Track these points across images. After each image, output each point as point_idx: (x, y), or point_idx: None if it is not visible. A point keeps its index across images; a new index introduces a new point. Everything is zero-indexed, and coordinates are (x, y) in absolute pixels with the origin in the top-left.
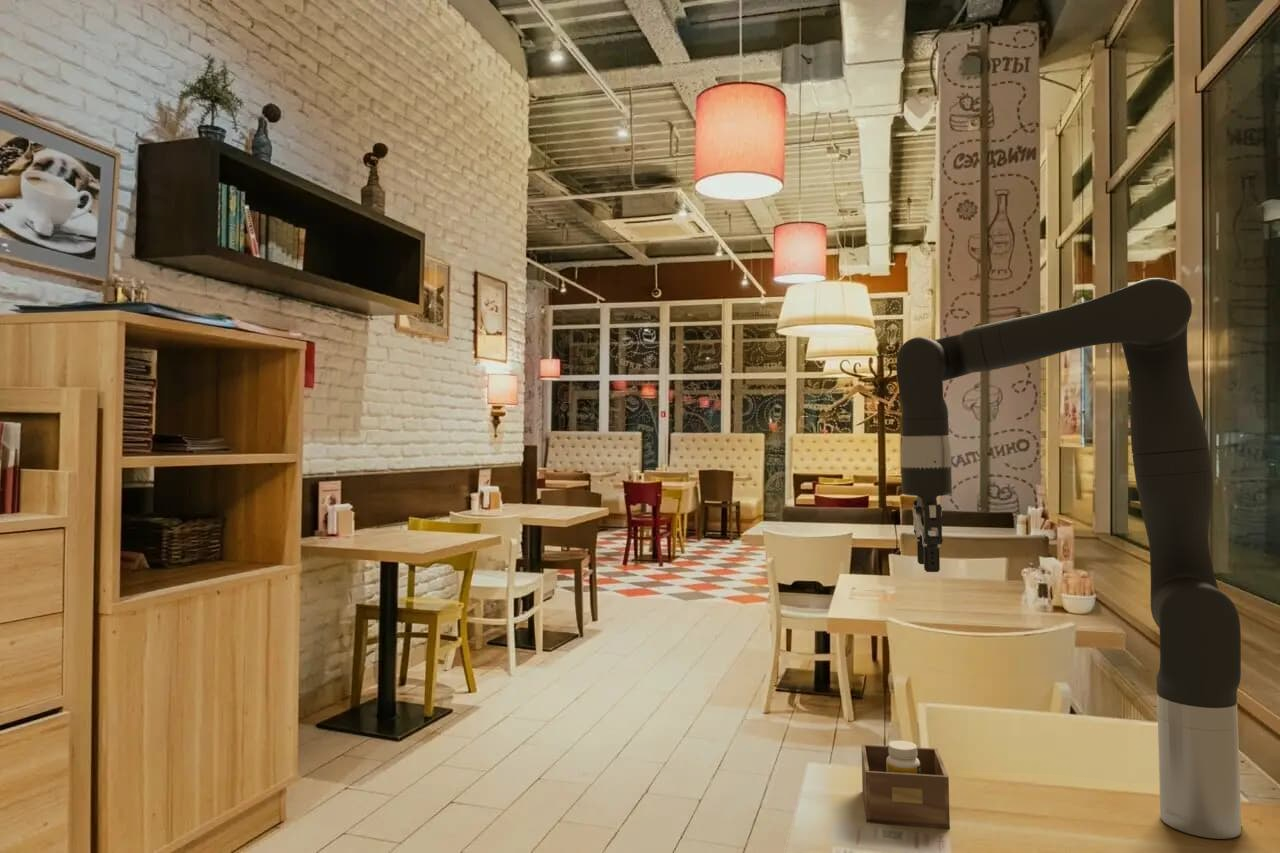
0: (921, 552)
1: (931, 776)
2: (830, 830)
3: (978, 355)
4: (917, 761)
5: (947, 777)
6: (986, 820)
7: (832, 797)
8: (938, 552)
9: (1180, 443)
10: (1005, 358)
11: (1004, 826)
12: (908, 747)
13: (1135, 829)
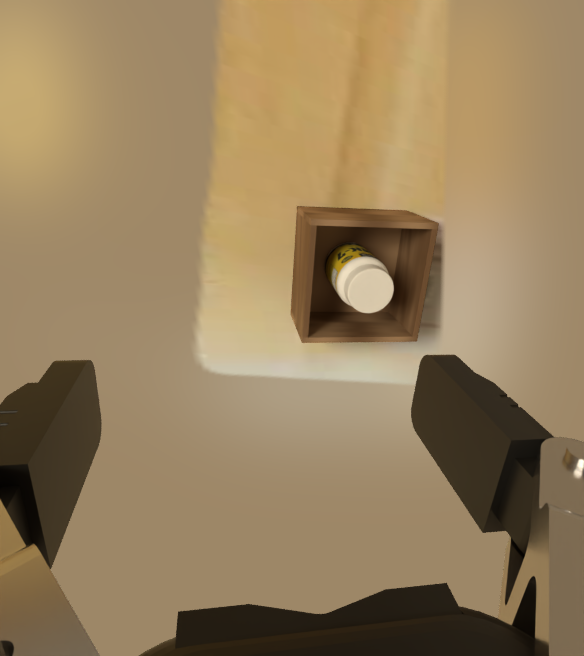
0: (77, 468)
1: (433, 249)
2: (410, 354)
3: None
4: (377, 263)
5: (437, 224)
6: (379, 149)
7: (316, 352)
8: (517, 420)
9: None
10: None
11: (398, 126)
12: (384, 283)
13: None
